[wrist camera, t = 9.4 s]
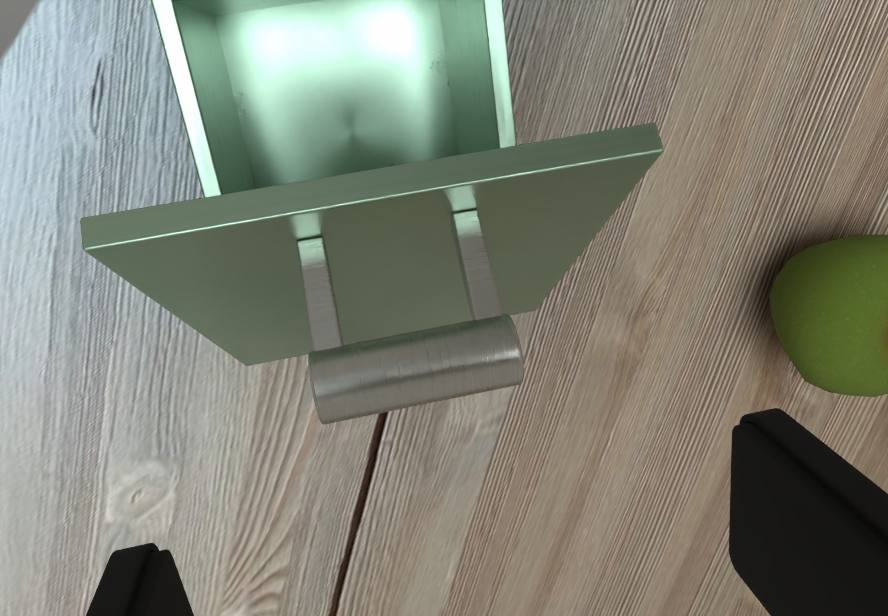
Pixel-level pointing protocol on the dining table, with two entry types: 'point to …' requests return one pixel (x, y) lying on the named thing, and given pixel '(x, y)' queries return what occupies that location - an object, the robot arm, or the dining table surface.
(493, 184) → the bin lid
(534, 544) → the dining table surface
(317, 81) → the trash can
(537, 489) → the dining table surface
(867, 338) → the apple
